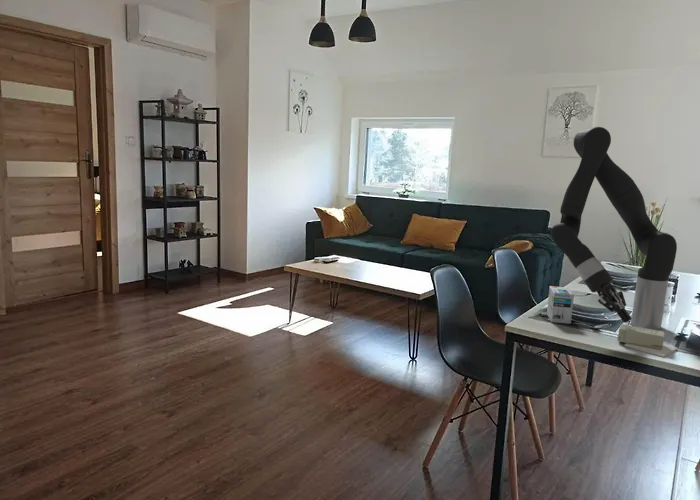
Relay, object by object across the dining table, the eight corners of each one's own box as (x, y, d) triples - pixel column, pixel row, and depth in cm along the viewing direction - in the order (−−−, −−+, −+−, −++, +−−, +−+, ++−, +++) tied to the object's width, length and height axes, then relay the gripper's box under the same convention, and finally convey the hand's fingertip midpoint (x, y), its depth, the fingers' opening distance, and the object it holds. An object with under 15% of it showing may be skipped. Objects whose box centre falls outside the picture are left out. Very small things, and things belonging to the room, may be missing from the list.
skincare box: (616, 341, 163) (662, 350, 156) (618, 328, 162) (664, 336, 155) (619, 336, 168) (663, 345, 161) (621, 323, 167) (665, 331, 161)
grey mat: (639, 339, 168) (639, 337, 167) (677, 349, 159) (677, 347, 159) (624, 346, 161) (624, 344, 160) (663, 357, 152) (663, 355, 152)
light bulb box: (571, 324, 180) (574, 294, 178) (550, 322, 181) (554, 292, 180) (565, 315, 190) (568, 287, 189) (545, 313, 192) (548, 285, 190)
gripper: (593, 270, 162) (629, 318, 155) (612, 266, 170) (647, 311, 163) (575, 283, 167) (608, 330, 160) (594, 278, 175) (627, 323, 168)
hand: (628, 320), depth 162 cm, fingers closed
